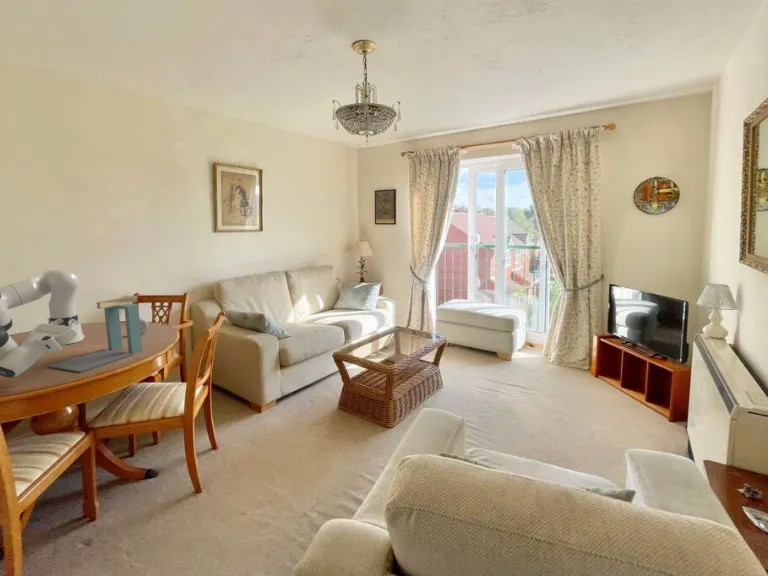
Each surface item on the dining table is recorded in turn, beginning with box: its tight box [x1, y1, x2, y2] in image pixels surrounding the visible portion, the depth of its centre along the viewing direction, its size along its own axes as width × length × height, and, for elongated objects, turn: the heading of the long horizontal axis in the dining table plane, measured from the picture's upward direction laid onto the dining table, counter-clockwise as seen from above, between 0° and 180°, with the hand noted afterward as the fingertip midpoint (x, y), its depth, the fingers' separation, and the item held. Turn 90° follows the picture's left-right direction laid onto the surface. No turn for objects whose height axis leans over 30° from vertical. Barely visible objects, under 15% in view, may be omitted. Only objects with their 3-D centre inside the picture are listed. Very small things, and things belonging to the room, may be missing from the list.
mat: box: [48, 349, 134, 374], centre depth 185 cm, size 20×25×1 cm
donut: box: [139, 317, 149, 335], centre depth 229 cm, size 10×4×10 cm, turn 129°
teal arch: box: [103, 303, 143, 354], centre depth 198 cm, size 16×6×24 cm, turn 72°
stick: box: [96, 295, 138, 310], centre depth 195 cm, size 2×19×3 cm, turn 162°
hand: (69, 320), depth 173 cm, fingers open, 8 cm apart
